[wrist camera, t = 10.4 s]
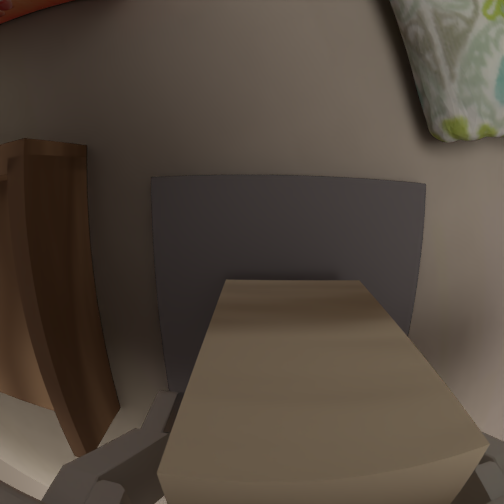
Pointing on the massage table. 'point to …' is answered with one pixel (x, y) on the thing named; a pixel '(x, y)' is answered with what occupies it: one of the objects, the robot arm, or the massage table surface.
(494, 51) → the towel
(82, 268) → the shelf bay
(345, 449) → the block
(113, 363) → the massage table surface
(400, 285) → the mat
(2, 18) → the cracker box
